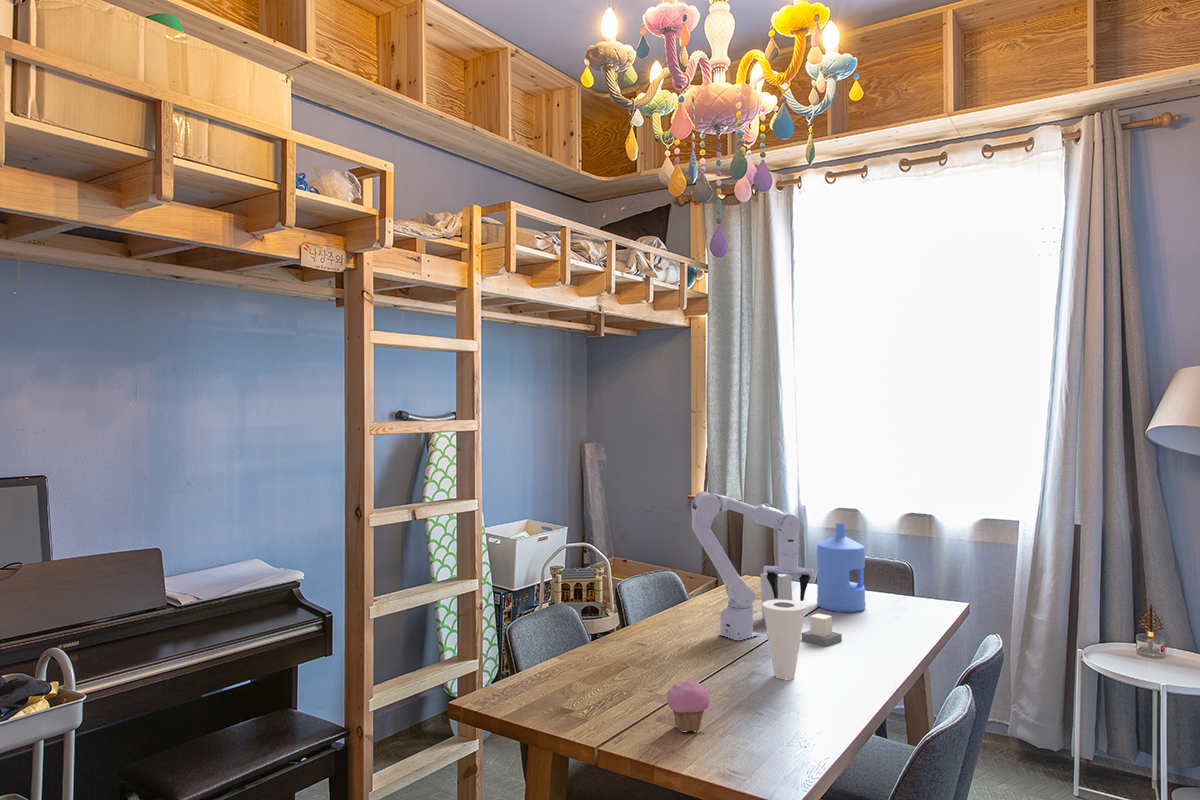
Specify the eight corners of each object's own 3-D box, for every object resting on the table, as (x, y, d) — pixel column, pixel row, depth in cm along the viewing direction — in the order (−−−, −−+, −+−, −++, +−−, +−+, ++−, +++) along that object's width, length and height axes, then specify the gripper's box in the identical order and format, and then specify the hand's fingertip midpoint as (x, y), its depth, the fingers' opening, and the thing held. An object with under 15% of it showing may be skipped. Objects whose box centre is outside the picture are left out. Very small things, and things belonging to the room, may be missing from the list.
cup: (775, 686, 182) (775, 612, 182) (755, 671, 192) (754, 601, 192) (814, 682, 184) (814, 608, 185) (792, 667, 195) (792, 598, 195)
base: (825, 646, 212) (825, 639, 212) (801, 639, 218) (801, 632, 218) (841, 641, 217) (841, 634, 217) (818, 634, 223) (818, 627, 223)
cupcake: (705, 721, 162) (705, 674, 162) (712, 738, 153) (712, 689, 153) (664, 721, 161) (664, 675, 162) (669, 739, 153) (669, 690, 153)
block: (824, 636, 215) (824, 619, 215) (810, 633, 218) (810, 616, 218) (832, 633, 218) (831, 616, 218) (817, 630, 221) (817, 613, 221)
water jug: (816, 611, 249) (816, 526, 250) (817, 599, 264) (816, 520, 265) (866, 614, 245) (865, 528, 245) (864, 602, 260) (863, 521, 260)
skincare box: (793, 620, 239) (793, 573, 239) (783, 624, 235) (782, 576, 235) (771, 615, 245) (770, 569, 245) (760, 618, 241) (760, 572, 241)
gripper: (760, 554, 224) (761, 600, 224) (810, 557, 218) (811, 604, 218) (766, 550, 230) (767, 594, 230) (814, 553, 224) (815, 598, 224)
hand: (789, 599), depth 224 cm, fingers open, 7 cm apart
